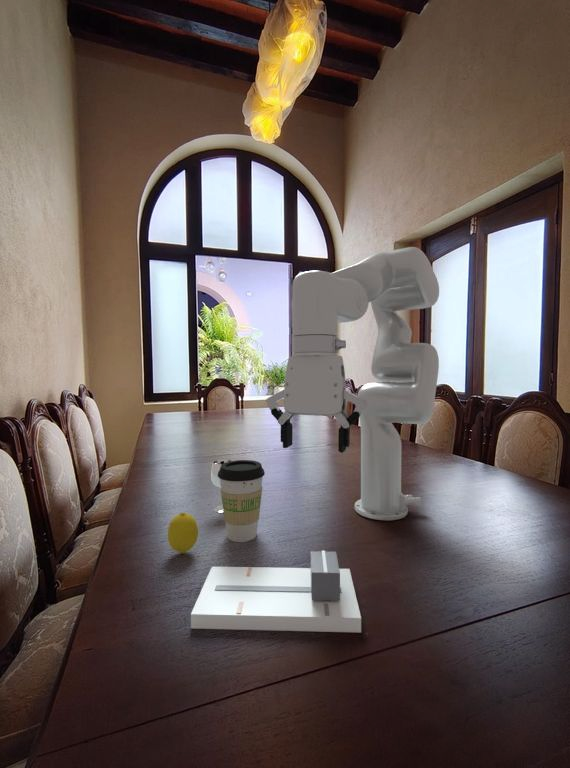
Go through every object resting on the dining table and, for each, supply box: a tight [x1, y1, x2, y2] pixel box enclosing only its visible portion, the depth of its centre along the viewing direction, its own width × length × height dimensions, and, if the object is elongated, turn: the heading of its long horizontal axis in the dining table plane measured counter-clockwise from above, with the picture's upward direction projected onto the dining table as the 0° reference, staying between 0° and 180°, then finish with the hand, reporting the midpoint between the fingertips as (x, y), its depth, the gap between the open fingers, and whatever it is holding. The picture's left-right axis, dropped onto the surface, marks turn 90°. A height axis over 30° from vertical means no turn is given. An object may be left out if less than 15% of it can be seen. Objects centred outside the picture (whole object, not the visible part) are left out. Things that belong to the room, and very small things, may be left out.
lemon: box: [167, 511, 199, 555], centre depth 70 cm, size 6×6×8 cm
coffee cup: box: [218, 459, 265, 543], centre depth 78 cm, size 10×10×15 cm
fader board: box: [190, 566, 362, 633], centre depth 56 cm, size 23×12×2 cm, turn 88°
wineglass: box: [210, 459, 232, 514], centre depth 92 cm, size 6×6×12 cm
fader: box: [310, 550, 340, 600], centre depth 55 cm, size 4×6×4 cm, turn 178°
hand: (314, 448), depth 63 cm, fingers open, 9 cm apart
